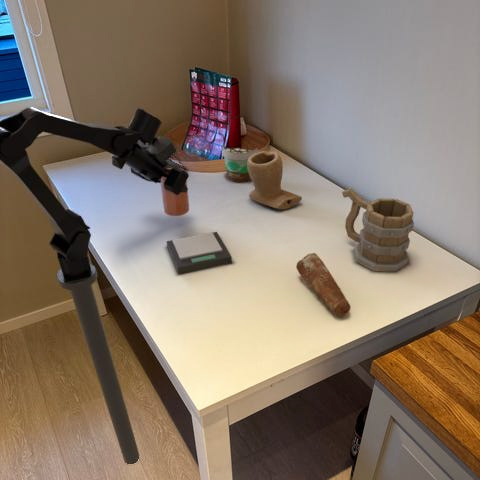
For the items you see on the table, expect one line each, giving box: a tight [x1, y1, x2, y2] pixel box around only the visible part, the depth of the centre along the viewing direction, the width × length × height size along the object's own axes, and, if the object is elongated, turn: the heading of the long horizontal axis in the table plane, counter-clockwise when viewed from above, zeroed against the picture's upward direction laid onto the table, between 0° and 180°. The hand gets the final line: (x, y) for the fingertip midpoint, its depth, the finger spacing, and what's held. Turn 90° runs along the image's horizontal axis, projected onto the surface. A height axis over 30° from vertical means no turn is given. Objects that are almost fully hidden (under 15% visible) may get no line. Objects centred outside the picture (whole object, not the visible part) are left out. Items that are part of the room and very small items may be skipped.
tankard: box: [341, 188, 415, 272], centre depth 121 cm, size 20×13×15 cm, turn 41°
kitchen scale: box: [165, 231, 233, 275], centre depth 126 cm, size 14×13×3 cm
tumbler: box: [159, 168, 190, 217], centre depth 134 cm, size 7×7×11 cm
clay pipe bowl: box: [247, 150, 303, 210], centre depth 142 cm, size 15×12×15 cm
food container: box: [221, 144, 260, 183], centre depth 157 cm, size 12×6×10 cm, turn 73°
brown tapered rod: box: [296, 252, 351, 317], centre depth 111 cm, size 6×19×6 cm, turn 17°
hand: (178, 186), depth 134 cm, fingers closed on tumbler, 7 cm apart
